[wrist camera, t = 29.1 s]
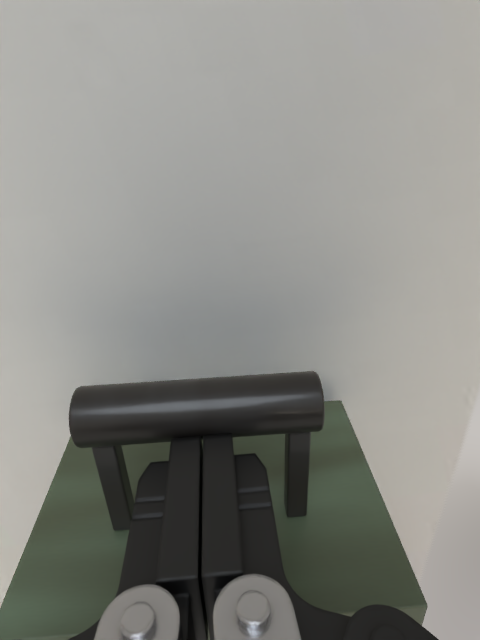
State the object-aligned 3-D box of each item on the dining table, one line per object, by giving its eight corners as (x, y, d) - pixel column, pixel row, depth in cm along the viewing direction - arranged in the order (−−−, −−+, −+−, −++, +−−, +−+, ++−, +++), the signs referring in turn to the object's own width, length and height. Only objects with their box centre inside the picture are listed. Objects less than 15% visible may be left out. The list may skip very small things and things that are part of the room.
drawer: (47, 308, 15) (-101, 502, 8) (351, 290, 15) (472, 460, 8) (139, 641, 24) (111, 856, 18) (320, 626, 25) (362, 830, 18)
